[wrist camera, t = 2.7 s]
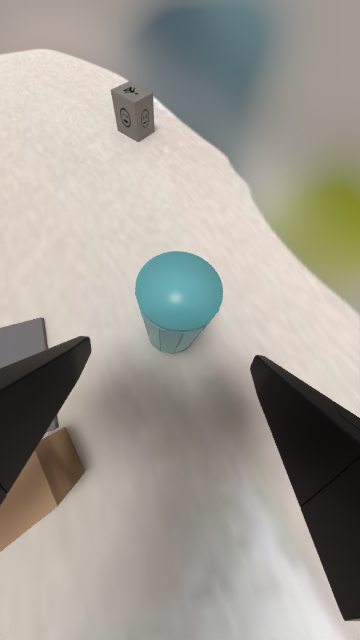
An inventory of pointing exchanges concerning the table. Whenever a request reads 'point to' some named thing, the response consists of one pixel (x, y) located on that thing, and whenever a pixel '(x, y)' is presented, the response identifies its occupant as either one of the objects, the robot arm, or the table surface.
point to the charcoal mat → (23, 344)
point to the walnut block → (40, 486)
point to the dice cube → (133, 110)
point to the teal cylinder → (177, 298)
